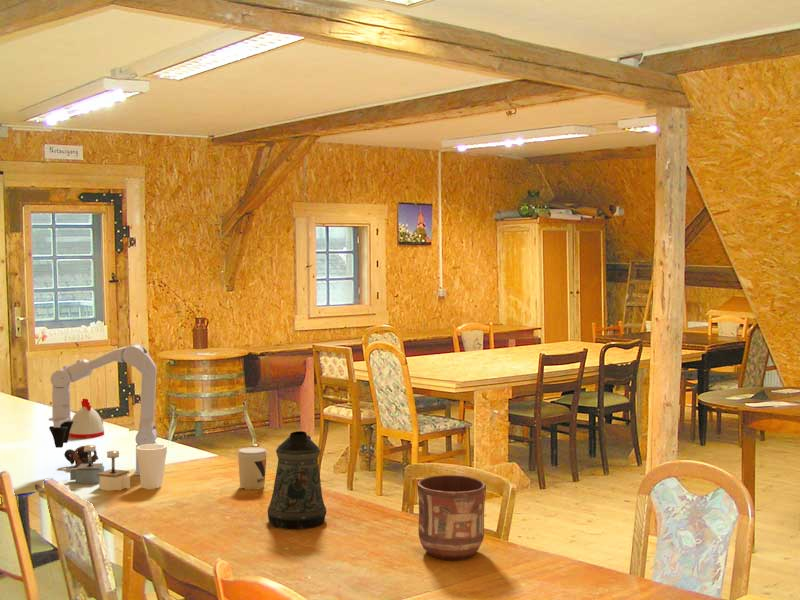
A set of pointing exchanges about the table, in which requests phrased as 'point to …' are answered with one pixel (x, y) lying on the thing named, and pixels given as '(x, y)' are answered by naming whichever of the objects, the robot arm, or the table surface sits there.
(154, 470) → the foam cup
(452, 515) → the pottery
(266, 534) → the table surface
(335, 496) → the table surface
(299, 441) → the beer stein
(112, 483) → the cream boxy piece
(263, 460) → the coffee cup
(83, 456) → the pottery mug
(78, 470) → the gray faceted block
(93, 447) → the metal bulb with stem
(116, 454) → the cream pot plunger
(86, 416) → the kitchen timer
